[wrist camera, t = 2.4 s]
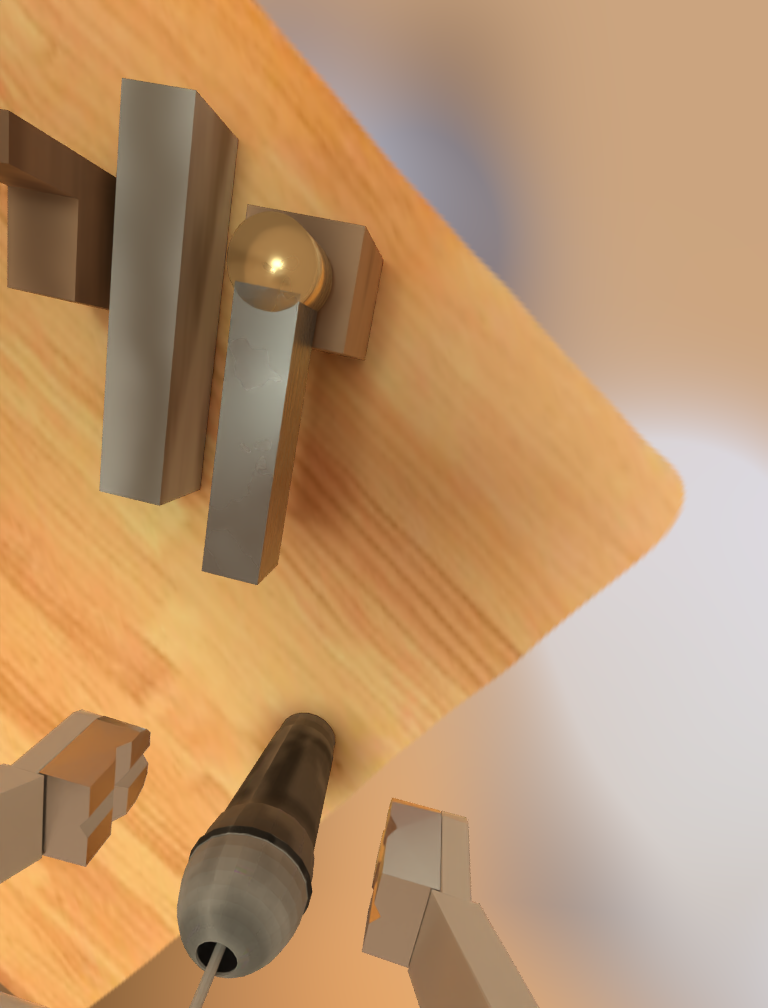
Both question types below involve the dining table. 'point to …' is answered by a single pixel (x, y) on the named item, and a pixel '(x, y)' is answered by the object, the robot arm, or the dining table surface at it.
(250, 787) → the beverage cup
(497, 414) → the dining table surface
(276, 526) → the bar
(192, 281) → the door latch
